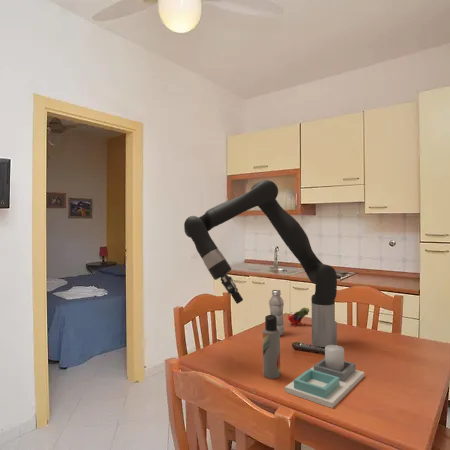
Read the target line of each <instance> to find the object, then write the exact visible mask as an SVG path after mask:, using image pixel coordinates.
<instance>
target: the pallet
mask: <svg viewBox="0 0 450 450" xmlns="http://www.w3.org/2000/svg"><path fill="white" fill-rule="evenodd" d="M364 377H365V371H362V370H361V371H360V370H357V369H356V363H354V362H351V361H347V360H345V349H344V347H343V346H342V345H338V344H337V345H327V346H325V348H324V357H323V358H322V359H321V360H320V361H318V362H317V363H315V364H314V365H313V366H312V367H311V368H308V369H307V370H306V371H304V372H303V373H302V374H300V375H299V376H297V377H296V378H294V379H293V381H291V382H290V383H289V384H287V385H285V387H284V393H287V394H290V395H293V396H295V397H299V398H302V399H305V400H308V401H309V402H313V403H316V404H319V405H321V406H325V407H328V408H330V407H331V408H330V409H333V408H334V407H336V406H337V405H338V404H339V402H341V400H343V398H345V397H346V395H348V393H350V391H352V389H354V388H355V386H356V385H357V384H359V382H361V381H362V380H363V378H364Z"/></svg>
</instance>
